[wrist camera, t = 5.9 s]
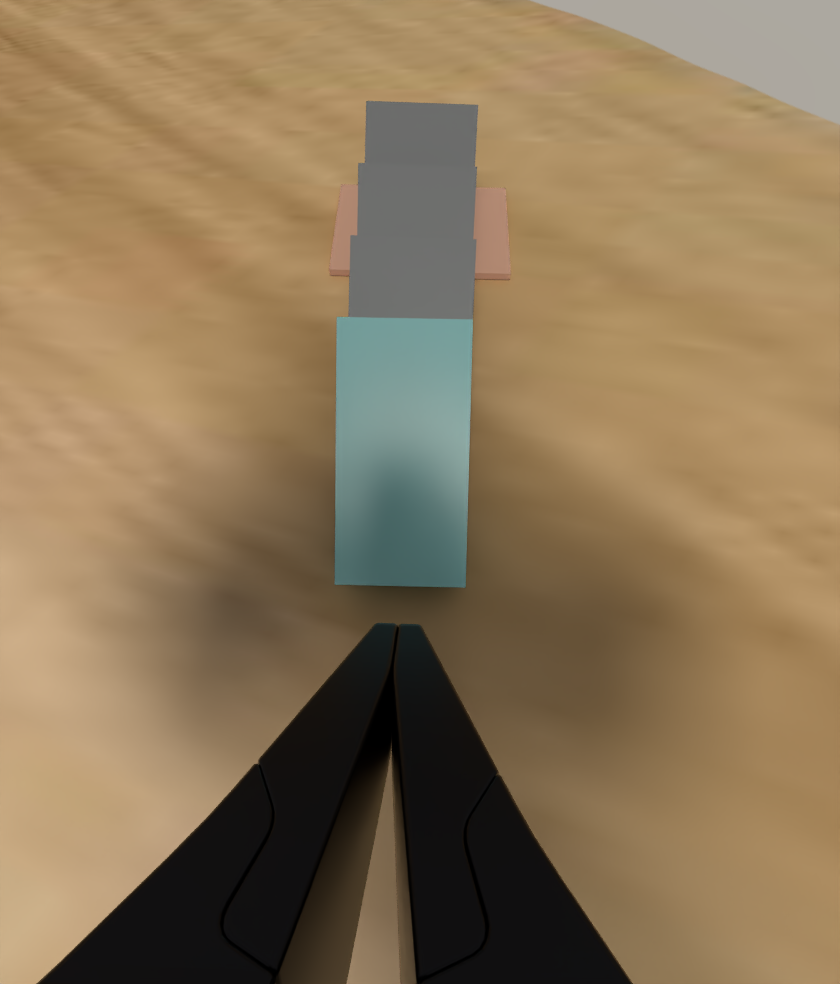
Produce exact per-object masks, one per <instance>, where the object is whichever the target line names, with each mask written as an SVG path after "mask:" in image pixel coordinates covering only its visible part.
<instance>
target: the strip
mask: <svg viewBox="0 0 840 984" xmlns="http://www.w3.org/2000/svg"><path fill="white" fill-rule="evenodd" d="M357 217H358V185H347V184H341V189H340V196H339V203H338V210H337V217H336V224H335V231H334V238H333V245H332V252H331V259H330V266H329V272H330V275H337V276H350V235H357ZM473 239H477V240H476V261H475V279H501V280H510V275H511V267H510V252H509V236H508V220H507V204H506V188H481V187H476V195H475V216H474V236H473Z"/></svg>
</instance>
